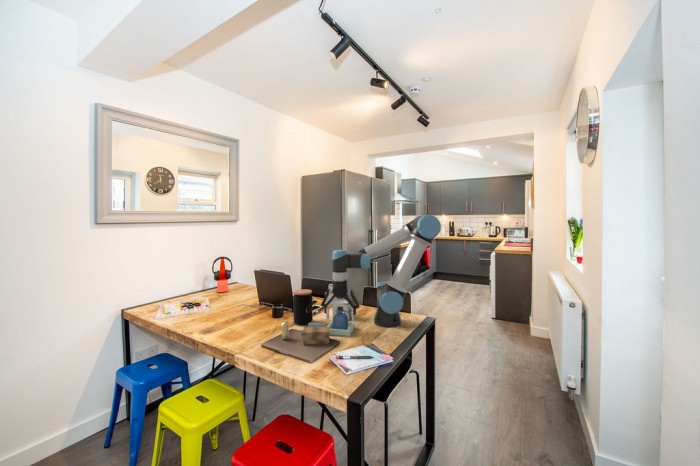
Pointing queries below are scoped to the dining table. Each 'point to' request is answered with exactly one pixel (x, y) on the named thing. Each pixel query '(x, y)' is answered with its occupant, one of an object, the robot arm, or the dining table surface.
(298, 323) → the coffee jar
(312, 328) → the brown wooden block
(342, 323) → the perfume bottle
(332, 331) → the tray
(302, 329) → the slot block
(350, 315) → the toy llama
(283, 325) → the bench dog
